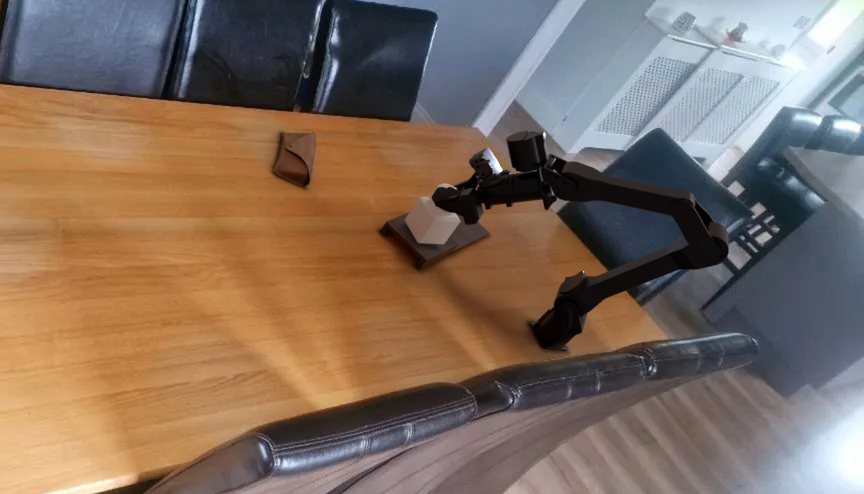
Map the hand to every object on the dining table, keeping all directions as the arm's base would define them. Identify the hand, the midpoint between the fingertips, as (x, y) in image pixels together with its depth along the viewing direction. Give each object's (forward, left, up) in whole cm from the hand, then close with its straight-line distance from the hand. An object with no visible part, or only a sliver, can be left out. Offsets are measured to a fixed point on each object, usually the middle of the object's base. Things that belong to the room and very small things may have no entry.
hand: (439, 197), depth 145 cm
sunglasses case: (+21, +23, -13) cm, 34 cm away
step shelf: (+4, -9, -13) cm, 16 cm away
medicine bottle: (-1, -1, -9) cm, 9 cm away
